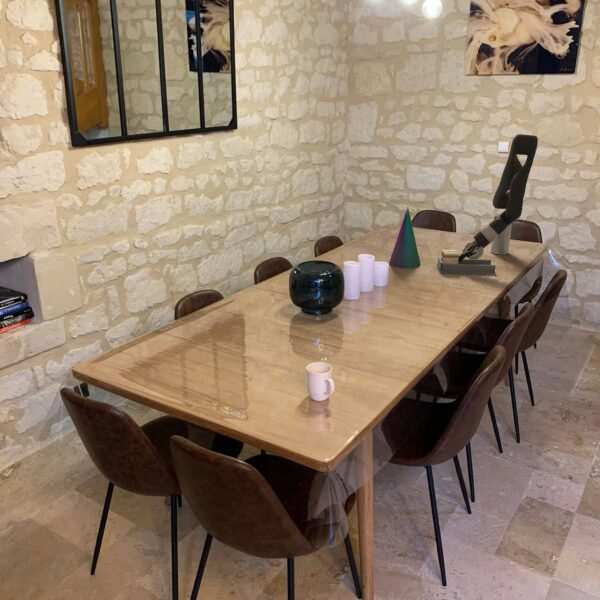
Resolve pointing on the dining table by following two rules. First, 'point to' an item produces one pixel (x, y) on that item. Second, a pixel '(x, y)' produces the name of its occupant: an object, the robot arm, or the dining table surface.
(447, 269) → the bay
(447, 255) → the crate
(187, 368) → the dining table surface
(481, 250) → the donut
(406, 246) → the decorative cone
